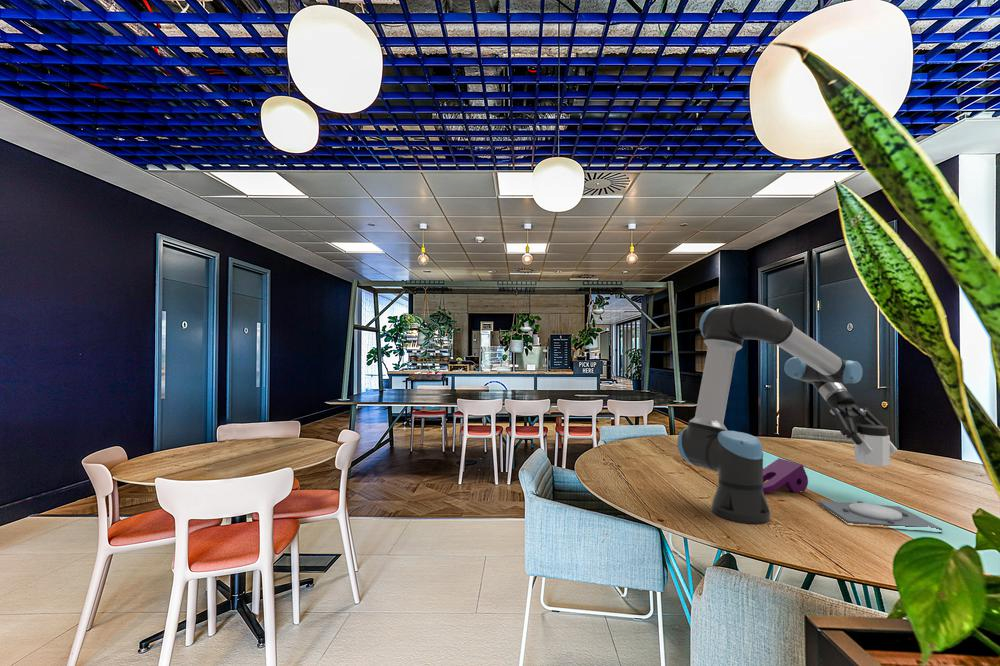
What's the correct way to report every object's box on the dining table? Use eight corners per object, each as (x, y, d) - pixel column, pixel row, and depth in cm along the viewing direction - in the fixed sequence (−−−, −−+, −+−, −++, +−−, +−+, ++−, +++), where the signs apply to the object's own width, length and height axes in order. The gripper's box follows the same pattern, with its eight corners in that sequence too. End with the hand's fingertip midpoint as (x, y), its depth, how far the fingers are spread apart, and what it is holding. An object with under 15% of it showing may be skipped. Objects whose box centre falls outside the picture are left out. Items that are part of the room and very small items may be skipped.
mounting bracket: (773, 512, 153) (811, 486, 158) (764, 490, 153) (802, 464, 157) (751, 503, 162) (787, 478, 167) (742, 482, 162) (779, 458, 166)
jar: (849, 459, 153) (848, 423, 153) (874, 460, 152) (874, 424, 153) (869, 466, 144) (868, 427, 144) (896, 467, 143) (895, 428, 144)
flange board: (848, 525, 127) (848, 517, 127) (818, 504, 144) (818, 497, 144) (942, 533, 122) (942, 524, 122) (899, 510, 140) (898, 503, 140)
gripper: (856, 403, 165) (901, 458, 149) (804, 403, 163) (844, 459, 146) (870, 389, 160) (918, 445, 144) (816, 389, 157) (859, 446, 141)
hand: (881, 452), depth 145 cm, fingers closed on jar, 8 cm apart
